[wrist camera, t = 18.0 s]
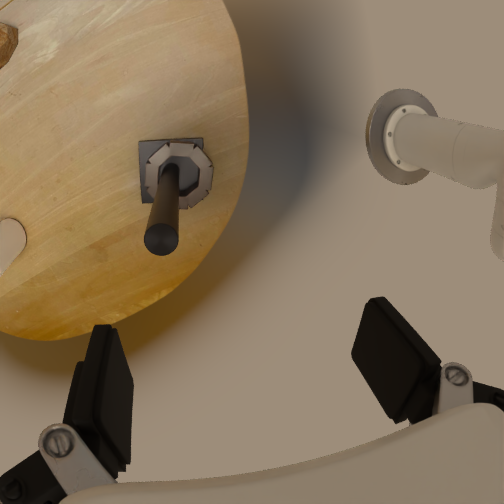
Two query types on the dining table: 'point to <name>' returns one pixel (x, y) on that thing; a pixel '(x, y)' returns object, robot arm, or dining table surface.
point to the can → (10, 242)
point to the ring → (183, 150)
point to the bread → (7, 42)
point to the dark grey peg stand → (166, 195)
